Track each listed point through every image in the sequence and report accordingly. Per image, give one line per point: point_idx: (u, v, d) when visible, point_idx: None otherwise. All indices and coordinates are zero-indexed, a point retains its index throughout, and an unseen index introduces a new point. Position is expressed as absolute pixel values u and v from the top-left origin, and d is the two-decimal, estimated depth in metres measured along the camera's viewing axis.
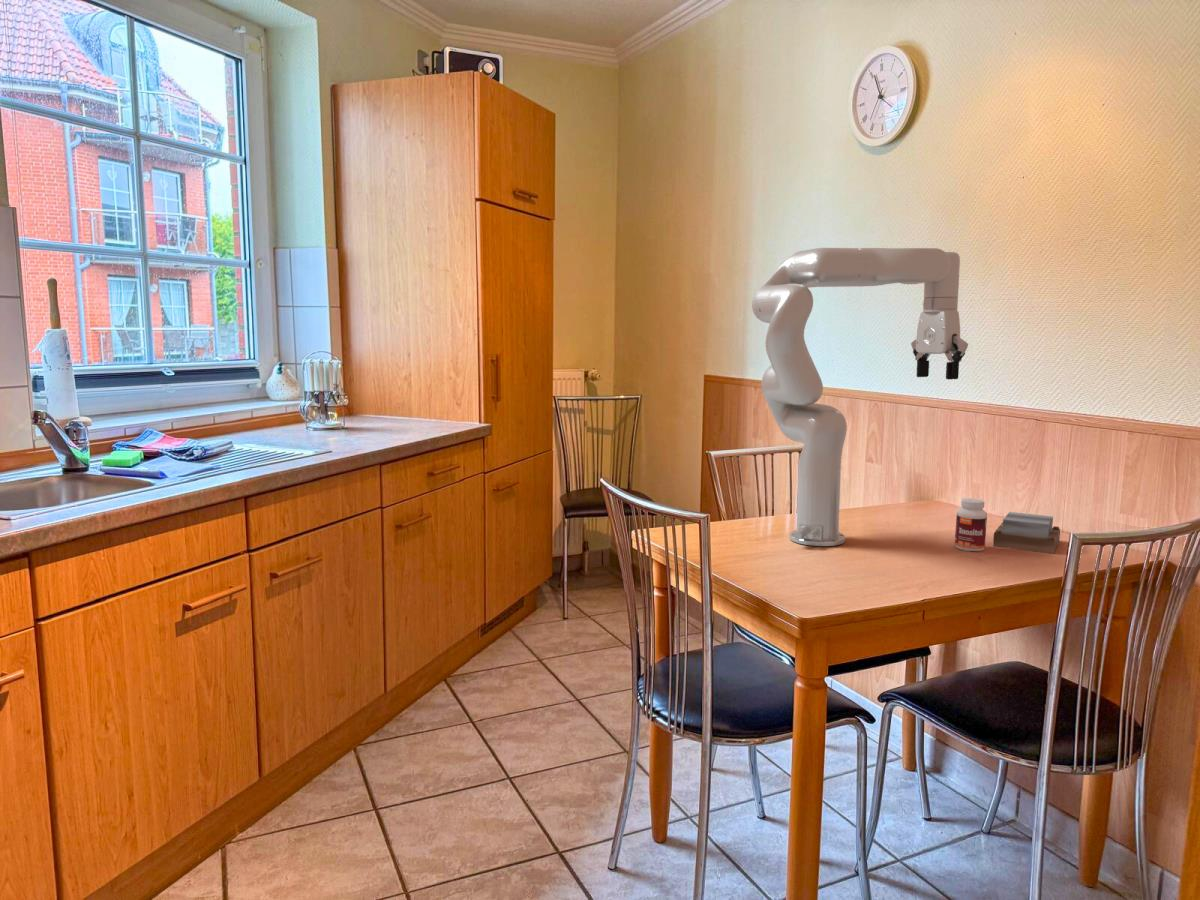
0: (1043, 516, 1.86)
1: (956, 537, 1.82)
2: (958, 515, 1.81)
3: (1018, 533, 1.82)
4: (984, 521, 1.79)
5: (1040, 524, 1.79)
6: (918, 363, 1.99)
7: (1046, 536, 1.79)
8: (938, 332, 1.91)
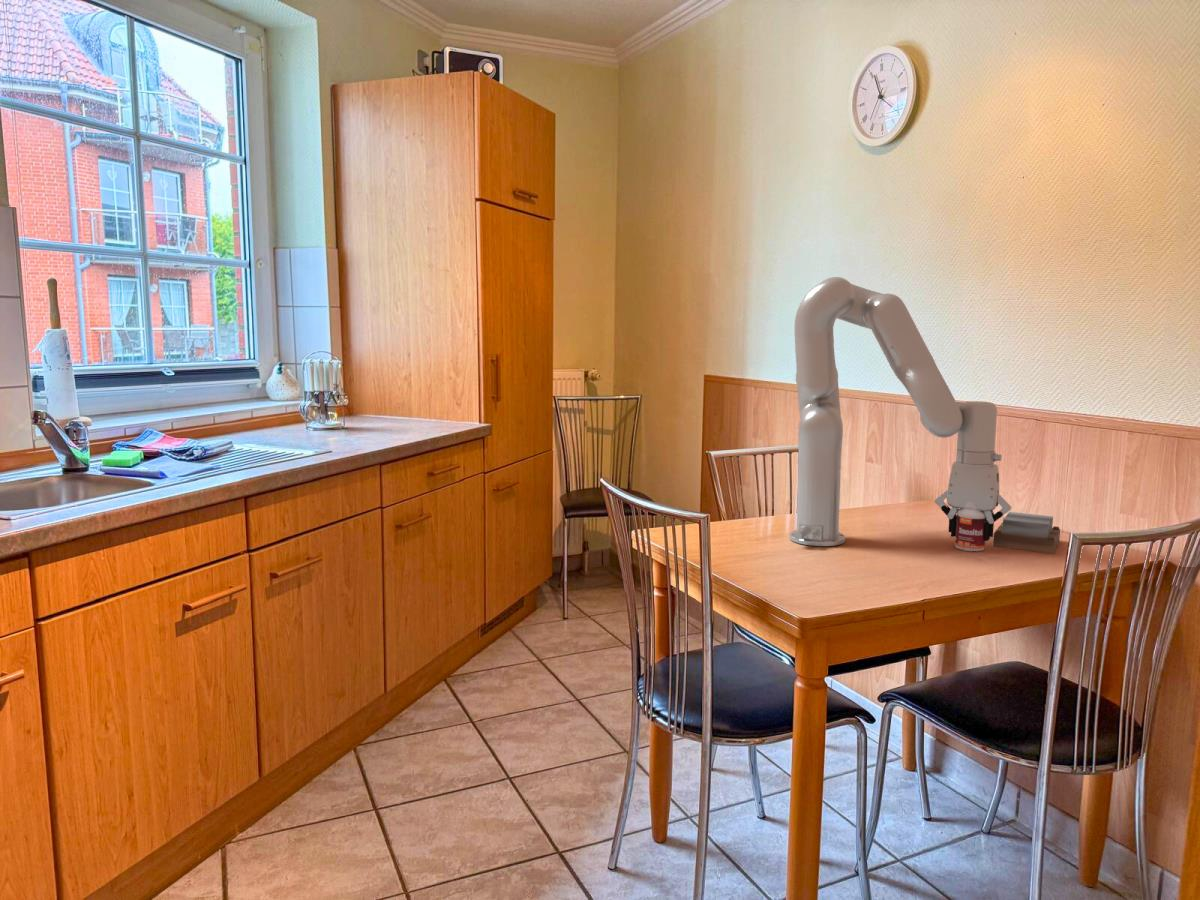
0: (1043, 516, 1.86)
1: (956, 537, 1.82)
2: (958, 515, 1.81)
3: (1018, 533, 1.82)
4: (984, 521, 1.79)
5: (1040, 524, 1.79)
6: None
7: (1046, 536, 1.79)
8: None
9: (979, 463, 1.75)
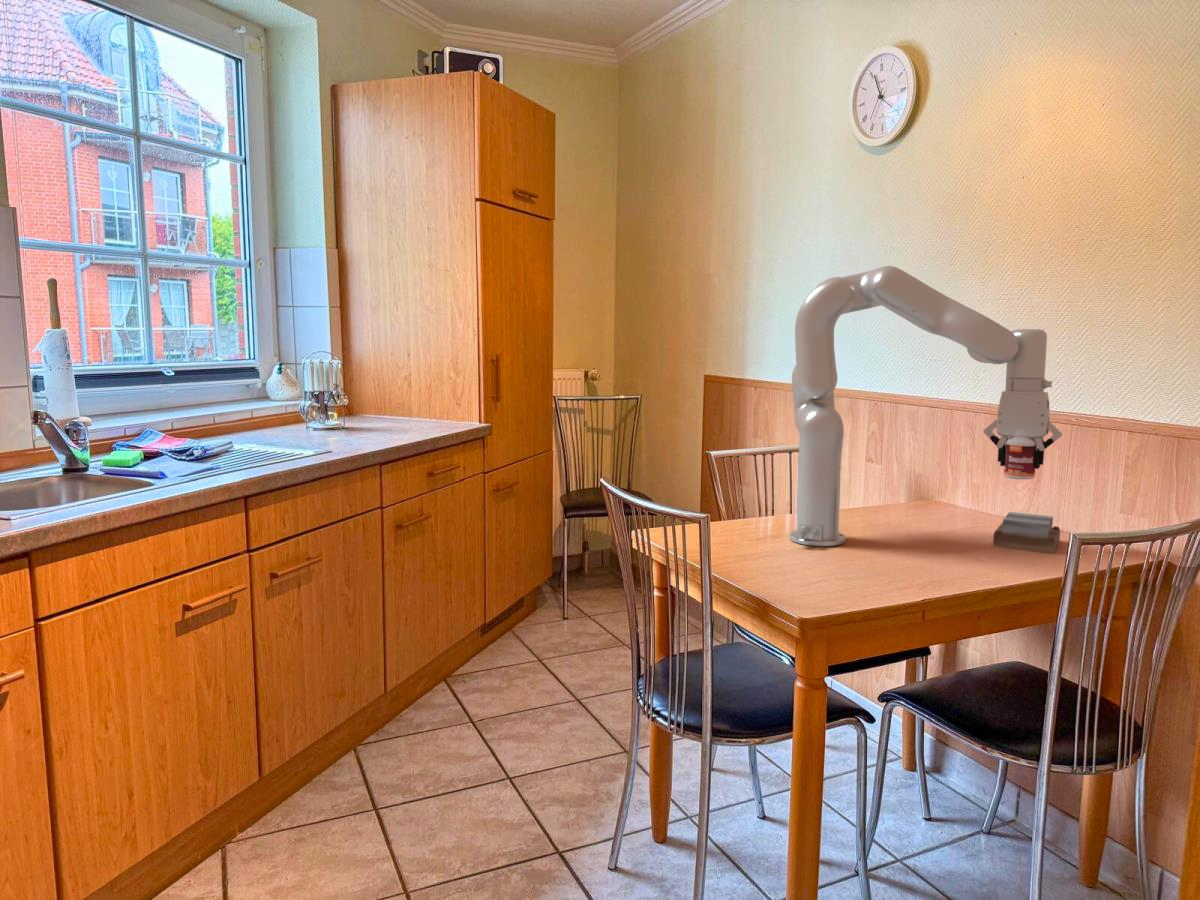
0: (1043, 516, 1.86)
1: (1006, 466, 1.82)
2: (1008, 443, 1.81)
3: (1018, 533, 1.82)
4: (1034, 448, 1.79)
5: (1040, 524, 1.79)
6: None
7: (1046, 536, 1.79)
8: None
9: (1029, 389, 1.76)
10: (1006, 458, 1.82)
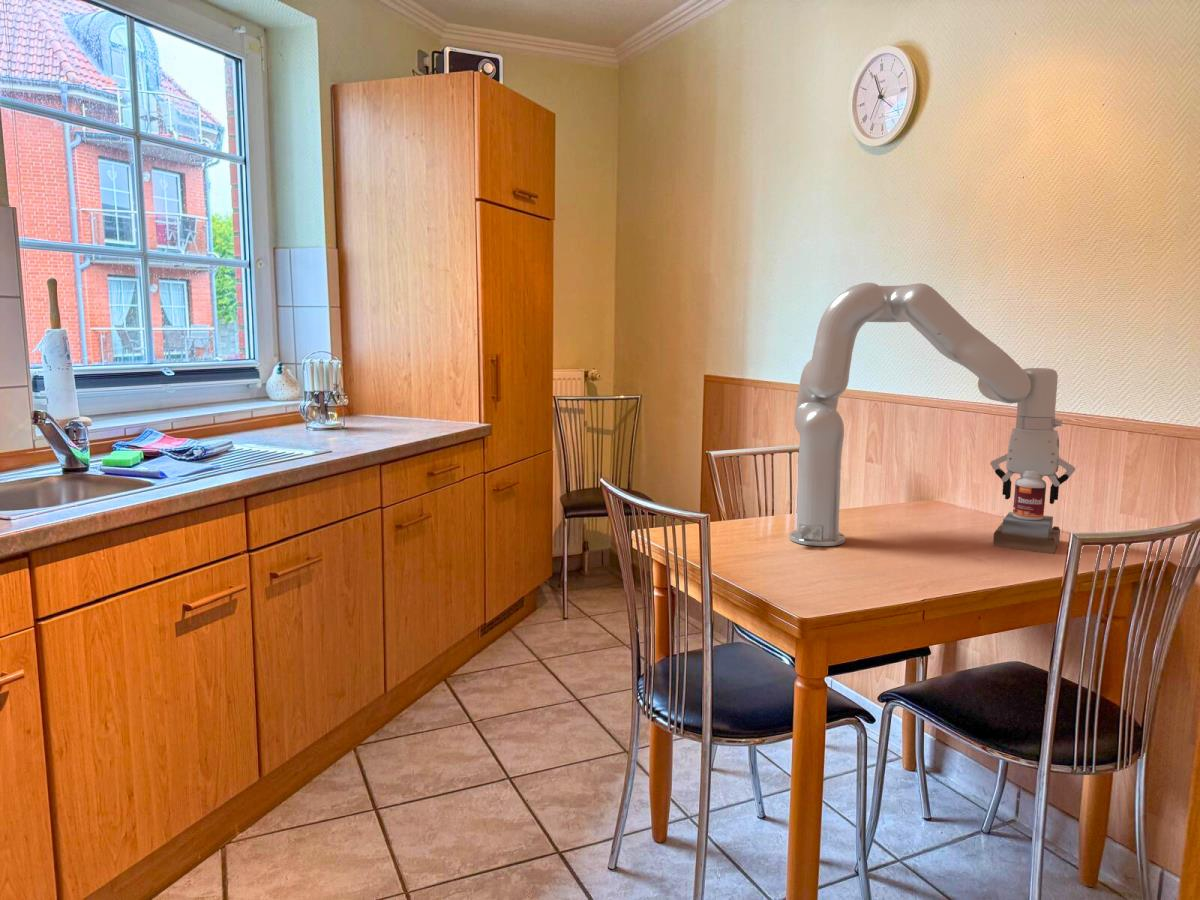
0: (1043, 516, 1.86)
1: (1015, 506, 1.84)
2: (1017, 484, 1.83)
3: (1018, 533, 1.82)
4: (1044, 490, 1.81)
5: (1040, 524, 1.79)
6: None
7: (1046, 536, 1.79)
8: None
9: (1040, 428, 1.78)
10: (1015, 499, 1.84)
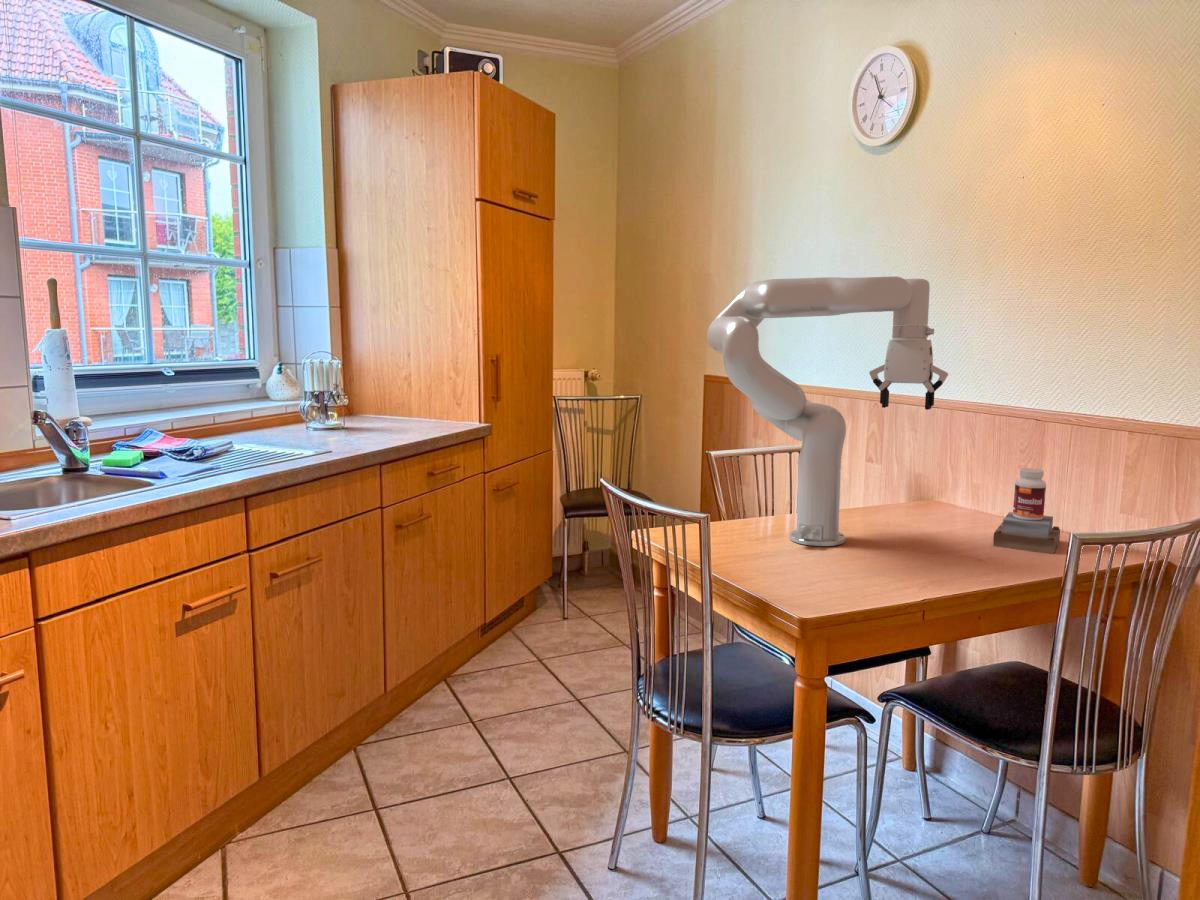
0: (1043, 516, 1.86)
1: (1015, 507, 1.84)
2: (1017, 485, 1.83)
3: (1018, 533, 1.82)
4: (1043, 490, 1.81)
5: (1040, 524, 1.79)
6: None
7: (1046, 536, 1.79)
8: None
9: (912, 336, 1.84)
10: (1015, 499, 1.84)
